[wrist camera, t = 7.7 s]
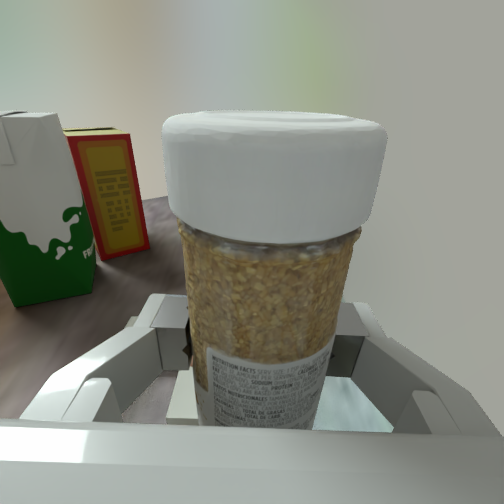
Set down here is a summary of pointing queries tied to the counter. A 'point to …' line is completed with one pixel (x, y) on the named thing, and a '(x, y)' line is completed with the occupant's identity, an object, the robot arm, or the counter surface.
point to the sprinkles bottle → (267, 251)
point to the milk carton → (41, 213)
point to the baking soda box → (109, 189)
